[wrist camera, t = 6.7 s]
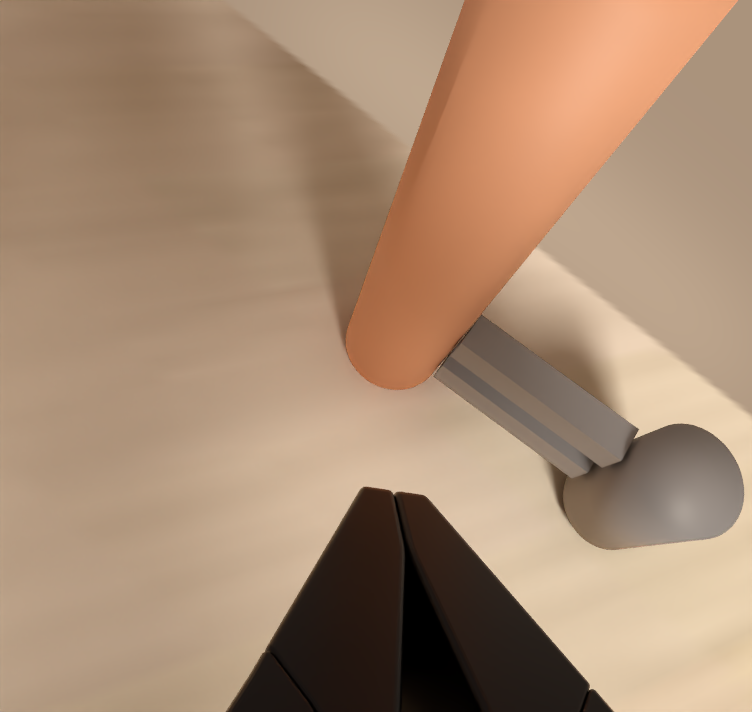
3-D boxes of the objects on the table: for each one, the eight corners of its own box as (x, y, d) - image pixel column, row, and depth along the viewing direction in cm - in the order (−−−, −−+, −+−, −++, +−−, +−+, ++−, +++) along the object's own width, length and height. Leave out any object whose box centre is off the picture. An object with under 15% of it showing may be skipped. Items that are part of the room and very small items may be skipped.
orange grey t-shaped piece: (666, 489, 21) (1377, 312, 8) (623, 572, 20) (1366, 533, 7) (382, 281, 21) (586, -209, 8) (325, 350, 20) (456, -88, 7)
